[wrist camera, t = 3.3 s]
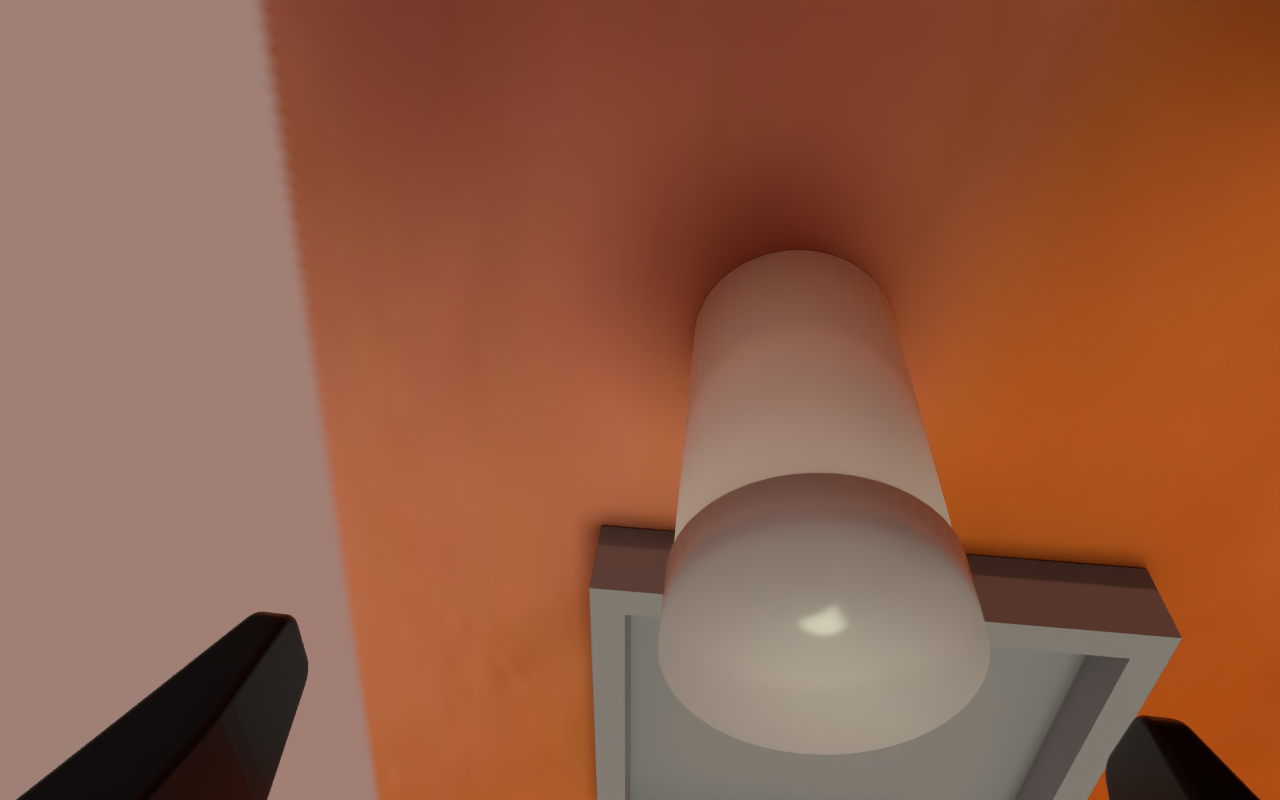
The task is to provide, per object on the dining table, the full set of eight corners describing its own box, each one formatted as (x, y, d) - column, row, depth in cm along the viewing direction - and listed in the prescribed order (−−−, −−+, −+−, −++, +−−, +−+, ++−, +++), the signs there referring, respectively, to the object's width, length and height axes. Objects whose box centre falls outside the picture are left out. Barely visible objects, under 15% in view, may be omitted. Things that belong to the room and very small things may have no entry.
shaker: (918, 252, 20) (1031, 561, 12) (879, 429, 23) (949, 767, 15) (694, 240, 20) (661, 531, 12) (686, 415, 23) (654, 738, 15)
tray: (1146, 569, 25) (1181, 638, 23) (1004, 846, 34) (1020, 912, 32) (601, 526, 26) (589, 588, 24) (608, 804, 35) (599, 866, 33)
